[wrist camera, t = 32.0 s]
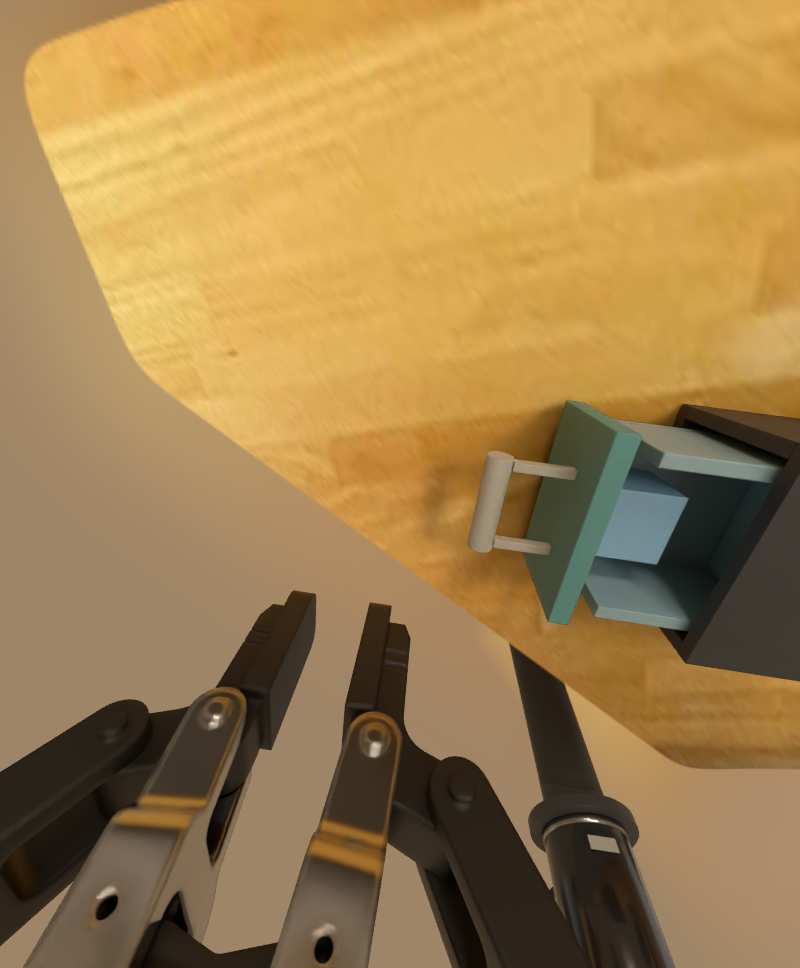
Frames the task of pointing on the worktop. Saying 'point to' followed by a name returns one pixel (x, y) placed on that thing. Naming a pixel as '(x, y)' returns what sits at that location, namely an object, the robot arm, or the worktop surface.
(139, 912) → the robot arm
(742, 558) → the dark grey drawer cabinet
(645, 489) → the pale blue rectangular block
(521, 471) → the teal drawer
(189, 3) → the worktop surface
